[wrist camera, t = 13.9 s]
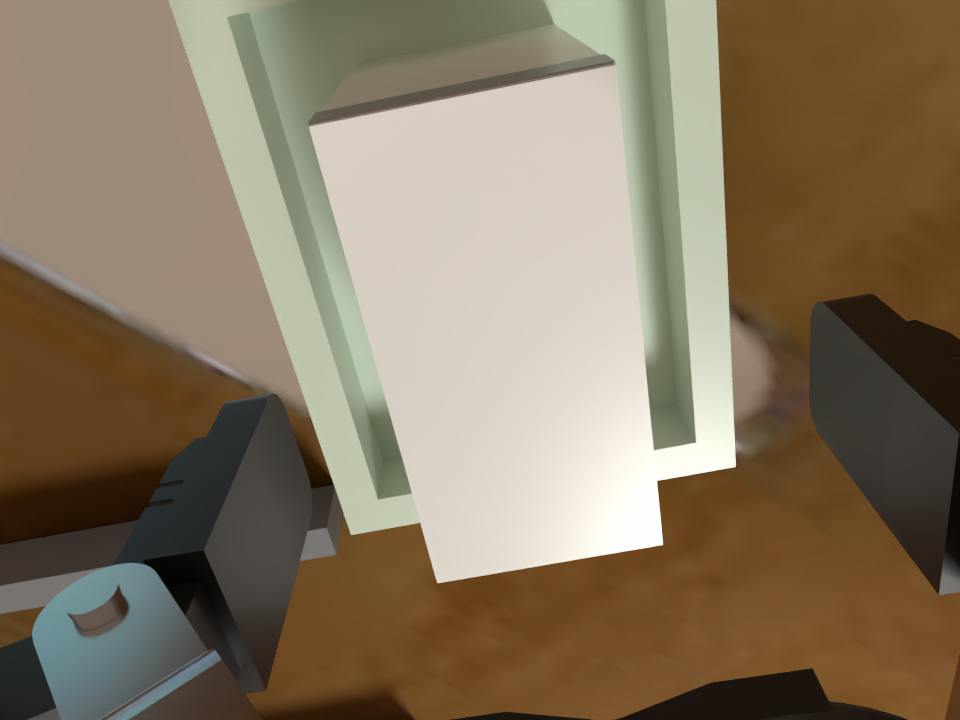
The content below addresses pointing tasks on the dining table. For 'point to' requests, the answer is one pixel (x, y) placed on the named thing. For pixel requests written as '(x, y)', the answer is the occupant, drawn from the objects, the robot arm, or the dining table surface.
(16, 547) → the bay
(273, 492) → the robot arm
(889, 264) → the dining table surface
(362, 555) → the dining table surface
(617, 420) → the cream rectangular block
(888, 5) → the dining table surface
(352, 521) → the tray
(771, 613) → the dining table surface
